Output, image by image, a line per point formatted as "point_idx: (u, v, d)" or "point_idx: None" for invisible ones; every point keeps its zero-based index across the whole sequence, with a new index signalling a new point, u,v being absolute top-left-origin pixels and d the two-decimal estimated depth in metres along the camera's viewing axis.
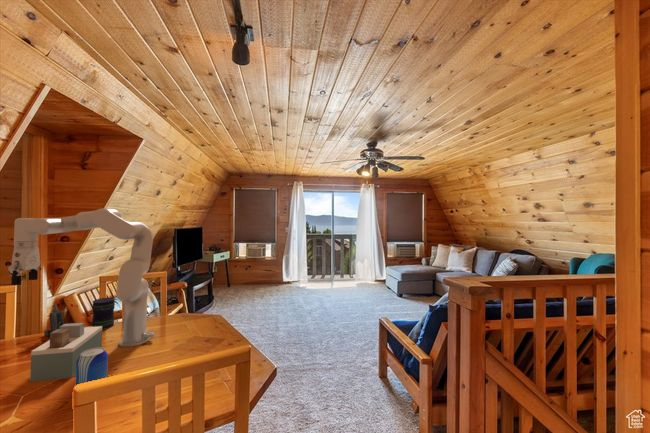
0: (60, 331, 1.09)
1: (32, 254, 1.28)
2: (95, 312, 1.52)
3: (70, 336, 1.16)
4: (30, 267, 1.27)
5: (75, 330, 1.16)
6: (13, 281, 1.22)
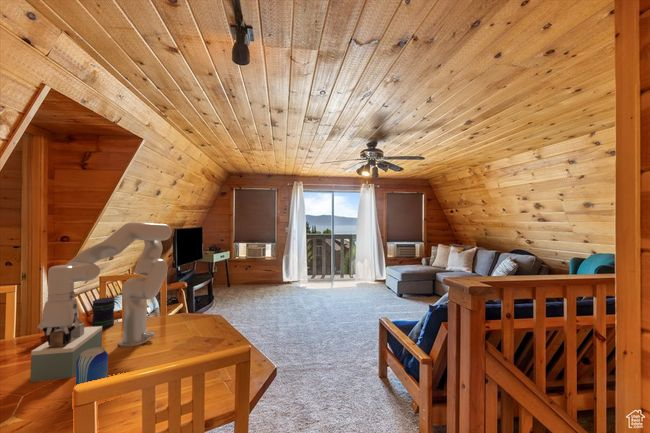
0: (60, 331, 1.09)
1: None
2: (95, 312, 1.52)
3: None
4: None
5: (75, 330, 1.16)
6: (69, 338, 1.10)
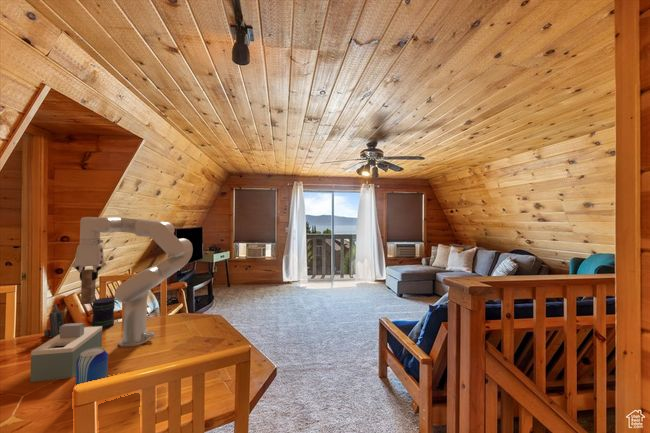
0: (90, 270, 1.35)
1: None
2: (95, 312, 1.52)
3: (70, 336, 1.16)
4: None
5: (75, 330, 1.16)
6: (96, 276, 1.36)
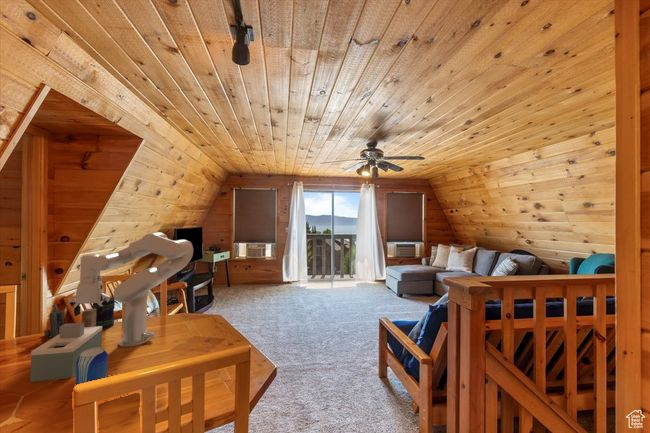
0: (90, 310, 1.36)
1: None
2: None
3: (70, 336, 1.16)
4: None
5: (75, 330, 1.16)
6: (102, 310, 1.38)
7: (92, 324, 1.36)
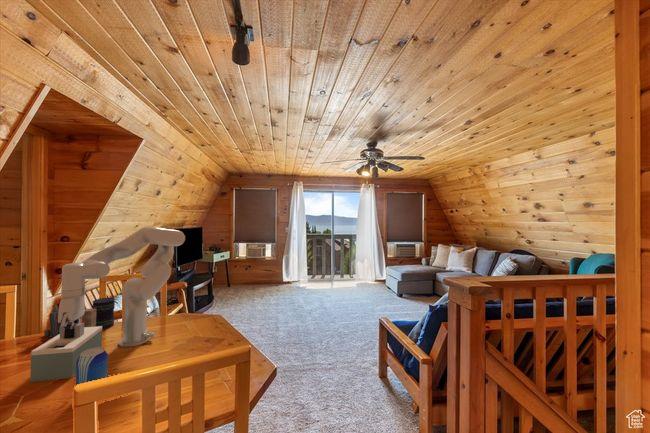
0: (90, 310, 1.36)
1: None
2: None
3: None
4: None
5: (75, 330, 1.16)
6: None
7: (92, 324, 1.36)
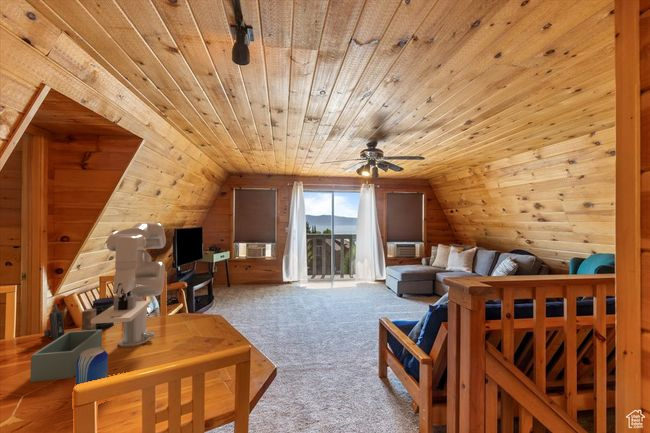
0: (90, 310, 1.36)
1: None
2: None
3: None
4: None
5: (128, 302, 1.17)
6: None
7: (92, 324, 1.36)
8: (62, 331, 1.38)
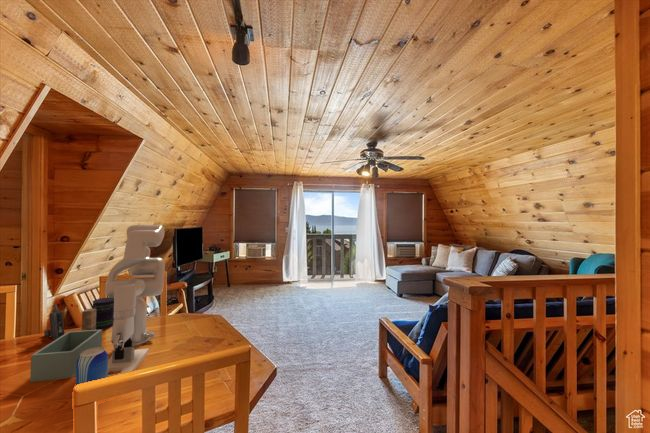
0: (90, 310, 1.36)
1: None
2: None
3: (122, 361, 1.17)
4: None
5: (127, 355, 1.17)
6: None
7: (92, 324, 1.36)
8: (62, 331, 1.38)
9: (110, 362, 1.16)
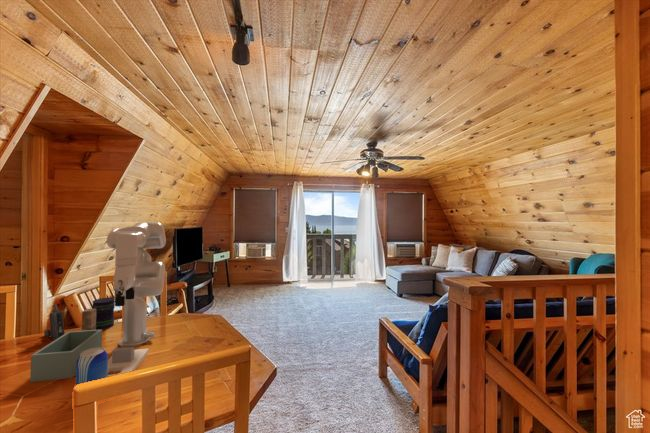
0: (90, 310, 1.36)
1: None
2: None
3: (122, 361, 1.17)
4: None
5: (127, 355, 1.17)
6: None
7: (92, 324, 1.36)
8: (62, 331, 1.38)
9: (110, 362, 1.16)
